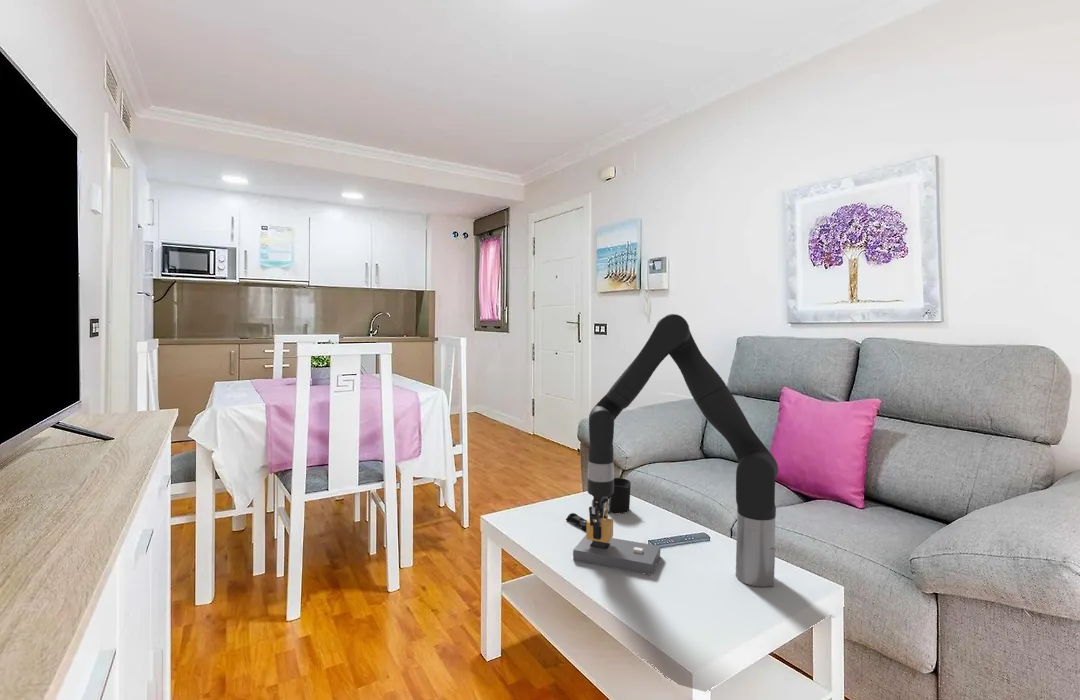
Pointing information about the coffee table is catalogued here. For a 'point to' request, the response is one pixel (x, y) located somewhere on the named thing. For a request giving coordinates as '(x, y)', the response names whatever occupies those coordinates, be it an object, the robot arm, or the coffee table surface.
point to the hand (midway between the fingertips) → (600, 534)
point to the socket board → (619, 555)
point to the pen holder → (620, 496)
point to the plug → (605, 532)
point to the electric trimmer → (576, 520)
